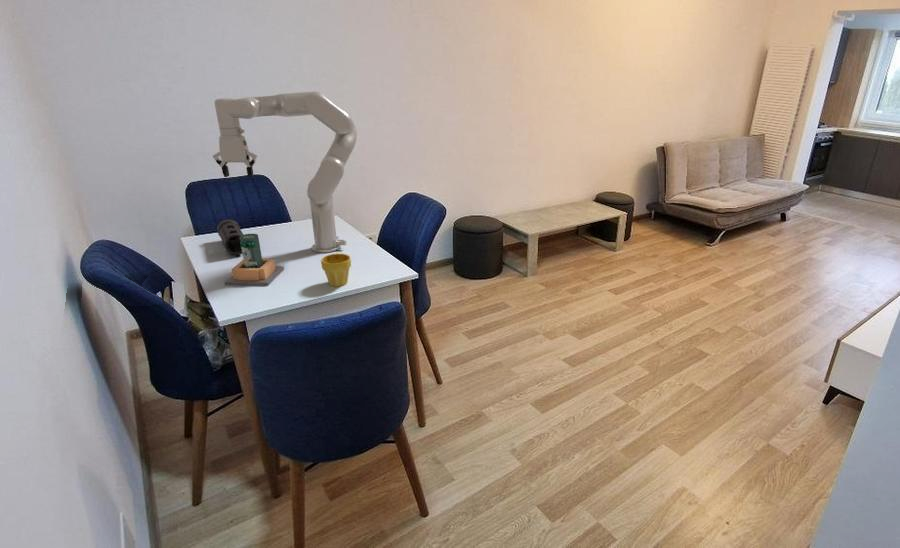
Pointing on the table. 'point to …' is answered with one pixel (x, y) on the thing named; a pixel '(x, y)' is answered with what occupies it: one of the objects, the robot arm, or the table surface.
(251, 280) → the socket block
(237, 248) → the muzzle brake
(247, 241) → the can
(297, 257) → the table surface
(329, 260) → the plant pot
